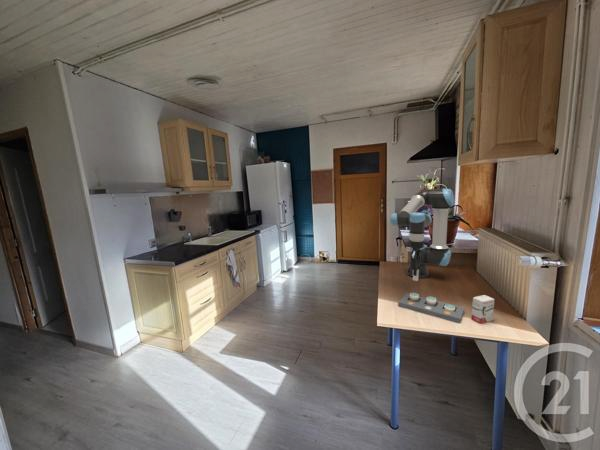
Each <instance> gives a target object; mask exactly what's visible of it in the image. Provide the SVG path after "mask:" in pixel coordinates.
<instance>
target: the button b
mask: <svg viewBox="0 0 600 450" xmlns="http://www.w3.org/2000/svg"><path fill="white" fill-rule="evenodd" d="M426 298H427V300H426V303H427V304H426V305H430V306H434V307H436V306H435V305H436V301H437V298H436V297H434V296H430V295H429V296H426Z"/></svg>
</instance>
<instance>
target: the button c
mask: <svg viewBox="0 0 600 450" xmlns="http://www.w3.org/2000/svg"><path fill="white" fill-rule="evenodd" d="M451 304H452V303H451ZM451 304H450V303H448V304H446V305H445V308H444V309H446V310H449V311H453V312H456V311H455V306H453V305H454V304H452V305H451Z"/></svg>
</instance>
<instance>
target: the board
mask: <svg viewBox="0 0 600 450" xmlns="http://www.w3.org/2000/svg"><path fill="white" fill-rule="evenodd" d="M426 300H427V297H423V296H419V301H411V300H410V293H405V294H404V295H403V296H402V298H401V299H400V300H399V301H398V302H397V304H398V307H399V308H403V309H407V310H409V311H414V312H418V313H421V314H424V315H429V316H432V317H435V318H439V319H443V320H445V321H449V322H453V323H456V324H461V322H462V319H463V317H464V313H465V307H464V306H460V305H455V304H452V303H451V305H453V306H455V312H453V311H449V310H446V309H444V308H445V305H446V304H449V303H447V302H444V301H440V300H436V305H435V306H431V305H428V304H427V303H426Z"/></svg>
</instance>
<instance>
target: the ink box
mask: <svg viewBox="0 0 600 450" xmlns="http://www.w3.org/2000/svg"><path fill="white" fill-rule="evenodd" d="M494 307H495V298H493V297H490V296H488V295H486V294H483V295H477V296H474V297H472V306H471V320H473V321H474V322H476V323H479V324H485V323H488V322H493V319H494Z"/></svg>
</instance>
